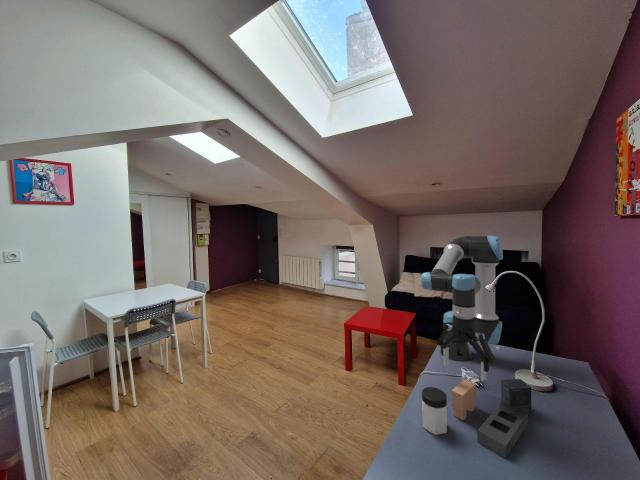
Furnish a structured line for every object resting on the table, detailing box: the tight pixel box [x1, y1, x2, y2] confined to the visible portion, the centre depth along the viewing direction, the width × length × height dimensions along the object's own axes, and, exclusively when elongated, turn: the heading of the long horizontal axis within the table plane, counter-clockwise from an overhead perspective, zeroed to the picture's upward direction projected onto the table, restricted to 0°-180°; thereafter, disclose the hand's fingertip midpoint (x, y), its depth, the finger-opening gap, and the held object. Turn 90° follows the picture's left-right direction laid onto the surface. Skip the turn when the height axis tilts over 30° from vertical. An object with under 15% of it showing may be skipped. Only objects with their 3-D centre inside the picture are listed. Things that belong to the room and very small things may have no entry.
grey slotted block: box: [476, 401, 529, 459], centre depth 91 cm, size 22×8×4 cm, turn 128°
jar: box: [421, 386, 448, 436], centre depth 95 cm, size 9×8×12 cm
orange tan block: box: [451, 378, 477, 421], centre depth 101 cm, size 11×4×10 cm, turn 128°
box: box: [500, 378, 533, 415], centre depth 101 cm, size 8×6×11 cm
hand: (463, 371), depth 100 cm, fingers open, 13 cm apart
